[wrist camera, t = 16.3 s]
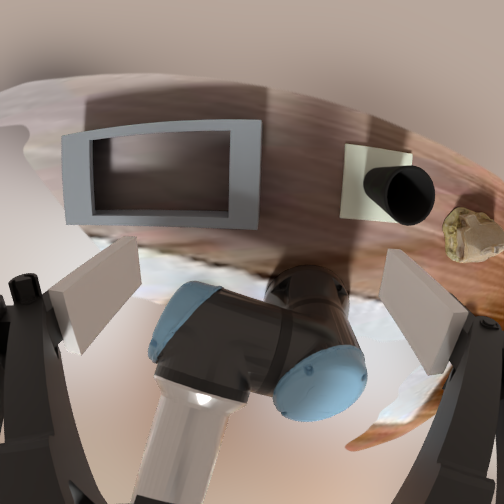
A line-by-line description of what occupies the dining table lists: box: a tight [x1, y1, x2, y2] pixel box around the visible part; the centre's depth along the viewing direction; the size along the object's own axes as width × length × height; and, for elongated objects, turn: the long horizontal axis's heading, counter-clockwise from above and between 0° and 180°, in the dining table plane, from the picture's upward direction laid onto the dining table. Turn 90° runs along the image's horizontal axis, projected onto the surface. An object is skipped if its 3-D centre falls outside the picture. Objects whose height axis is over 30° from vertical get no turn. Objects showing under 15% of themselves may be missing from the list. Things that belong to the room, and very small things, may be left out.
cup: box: [363, 165, 435, 226], centre depth 38 cm, size 8×8×12 cm
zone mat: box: [339, 144, 412, 223], centre depth 44 cm, size 12×12×1 cm
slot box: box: [62, 119, 263, 230], centre depth 42 cm, size 15×32×7 cm, turn 88°
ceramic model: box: [442, 207, 504, 263], centre depth 41 cm, size 14×11×10 cm
